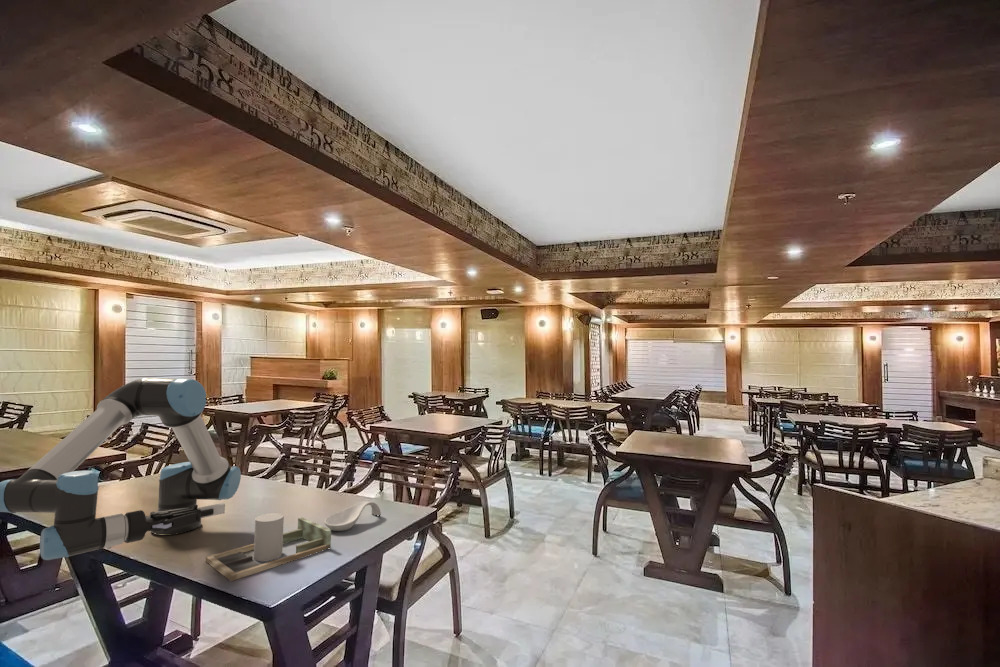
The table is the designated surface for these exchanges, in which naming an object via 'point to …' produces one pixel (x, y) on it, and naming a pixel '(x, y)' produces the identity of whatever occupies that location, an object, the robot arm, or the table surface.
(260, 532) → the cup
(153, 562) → the table surface
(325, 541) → the wooden tray frame
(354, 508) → the spoon rest
